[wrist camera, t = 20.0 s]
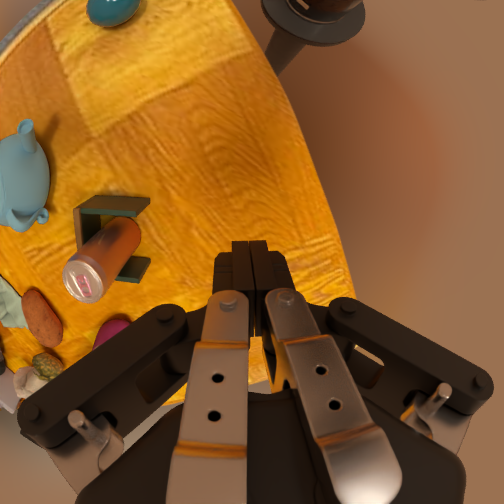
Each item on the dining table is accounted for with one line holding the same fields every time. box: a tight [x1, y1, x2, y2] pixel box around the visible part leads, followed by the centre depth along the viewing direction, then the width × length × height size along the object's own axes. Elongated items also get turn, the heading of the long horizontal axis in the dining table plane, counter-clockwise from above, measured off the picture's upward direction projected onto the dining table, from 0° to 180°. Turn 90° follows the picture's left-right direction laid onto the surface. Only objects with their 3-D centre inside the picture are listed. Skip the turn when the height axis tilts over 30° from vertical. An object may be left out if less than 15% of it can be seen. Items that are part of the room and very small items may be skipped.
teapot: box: [0, 119, 50, 232], centre depth 27 cm, size 20×20×13 cm
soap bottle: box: [0, 367, 21, 414], centre depth 46 cm, size 12×7×23 cm, turn 43°
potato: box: [21, 290, 63, 348], centre depth 42 cm, size 7×13×7 cm, turn 24°
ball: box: [86, 0, 141, 27], centre depth 21 cm, size 8×8×8 cm
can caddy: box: [73, 195, 151, 283], centre depth 36 cm, size 9×11×7 cm
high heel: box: [92, 319, 130, 351], centre depth 45 cm, size 9×26×12 cm, turn 147°
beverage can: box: [63, 216, 141, 303], centre depth 33 cm, size 6×6×15 cm
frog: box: [13, 353, 64, 399], centre depth 48 cm, size 12×13×18 cm
